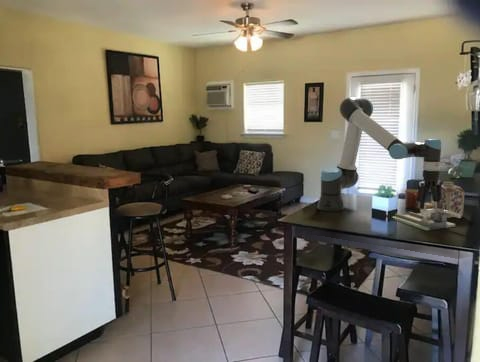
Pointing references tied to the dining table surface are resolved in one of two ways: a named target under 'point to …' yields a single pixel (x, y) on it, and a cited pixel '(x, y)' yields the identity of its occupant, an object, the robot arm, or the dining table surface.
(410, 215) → the pitch
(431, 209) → the white arched piece
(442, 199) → the decorative jar
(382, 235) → the dining table surface
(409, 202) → the mug
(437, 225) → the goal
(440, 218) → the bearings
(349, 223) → the dining table surface
